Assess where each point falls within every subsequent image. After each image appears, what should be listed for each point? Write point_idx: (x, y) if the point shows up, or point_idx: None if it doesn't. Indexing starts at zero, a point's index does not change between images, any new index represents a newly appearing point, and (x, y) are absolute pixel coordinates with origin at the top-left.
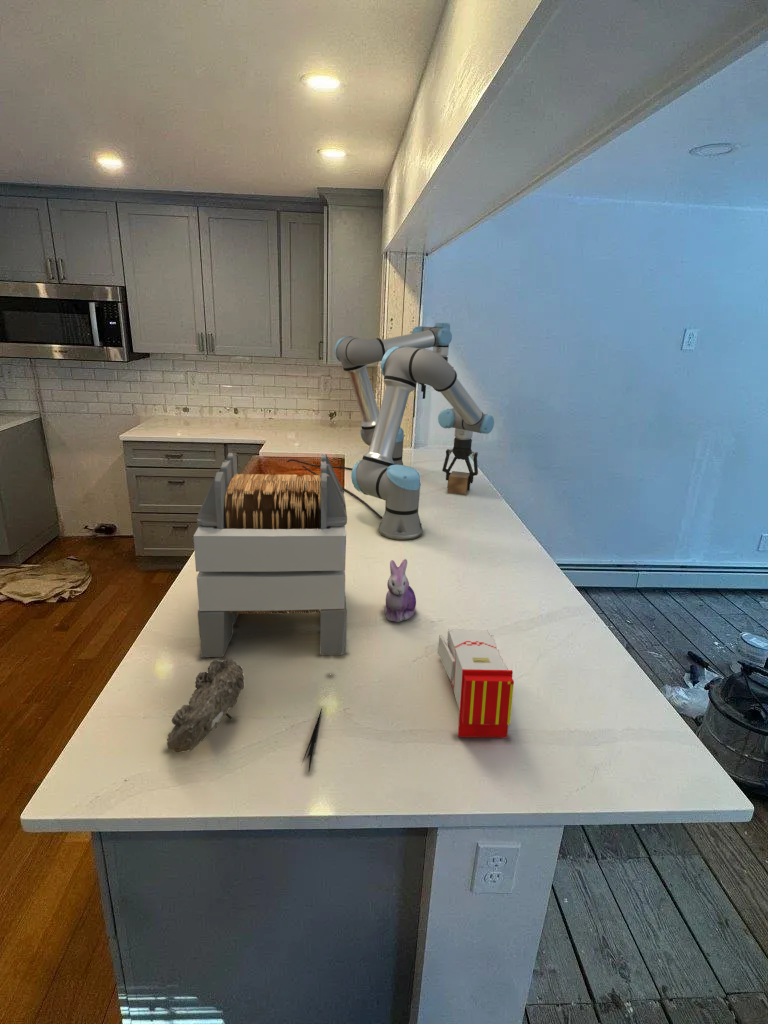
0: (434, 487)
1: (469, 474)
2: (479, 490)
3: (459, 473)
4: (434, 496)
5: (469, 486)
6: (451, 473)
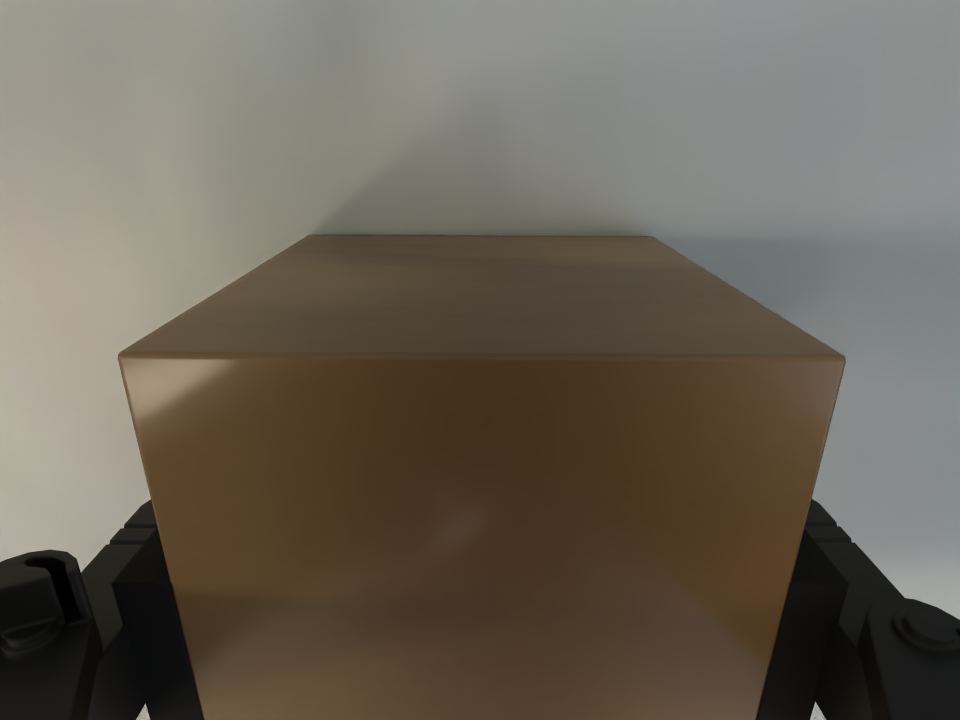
0: (42, 355)
1: (796, 546)
2: (862, 193)
3: (448, 566)
4: None
5: None
6: (210, 658)
